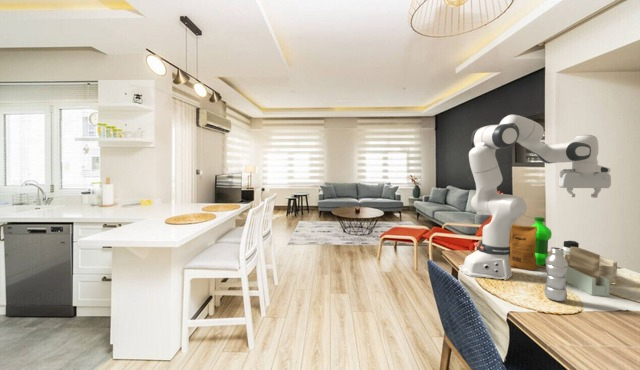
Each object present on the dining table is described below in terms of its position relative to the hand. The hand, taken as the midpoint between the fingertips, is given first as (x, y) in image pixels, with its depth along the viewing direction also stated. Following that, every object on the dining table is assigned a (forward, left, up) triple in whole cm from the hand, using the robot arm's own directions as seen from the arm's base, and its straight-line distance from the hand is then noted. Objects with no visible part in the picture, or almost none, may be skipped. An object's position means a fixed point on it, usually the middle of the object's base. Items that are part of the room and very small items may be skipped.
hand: (583, 197), depth 130 cm
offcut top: (-3, -1, -32) cm, 32 cm away
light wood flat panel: (-12, -19, -36) cm, 43 cm away
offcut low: (-3, -1, -37) cm, 37 cm away
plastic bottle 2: (-32, -34, -37) cm, 60 cm away
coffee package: (-24, +4, -37) cm, 45 cm away
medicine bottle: (+6, +15, -37) cm, 41 cm away
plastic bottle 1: (-12, +11, -37) cm, 41 cm away
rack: (-1, -5, -37) cm, 37 cm away
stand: (-12, -19, -37) cm, 43 cm away
